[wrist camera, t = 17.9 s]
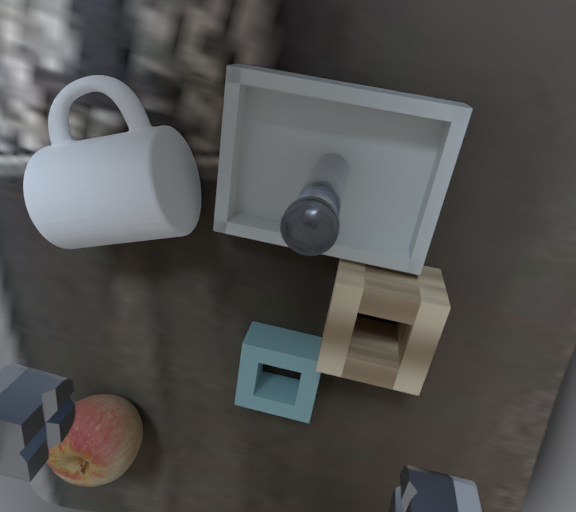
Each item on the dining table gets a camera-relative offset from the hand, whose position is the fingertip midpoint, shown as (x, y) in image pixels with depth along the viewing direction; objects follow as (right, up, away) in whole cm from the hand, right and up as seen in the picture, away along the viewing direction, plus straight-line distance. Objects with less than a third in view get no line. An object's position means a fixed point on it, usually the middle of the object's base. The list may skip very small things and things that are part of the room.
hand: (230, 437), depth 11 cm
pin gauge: (+5, +11, +23) cm, 26 cm away
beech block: (+9, +1, +28) cm, 29 cm away
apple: (-17, -12, +40) cm, 45 cm away
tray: (+5, +11, +24) cm, 27 cm away
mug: (-11, +13, +27) cm, 32 cm away
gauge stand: (+1, -5, +32) cm, 33 cm away
